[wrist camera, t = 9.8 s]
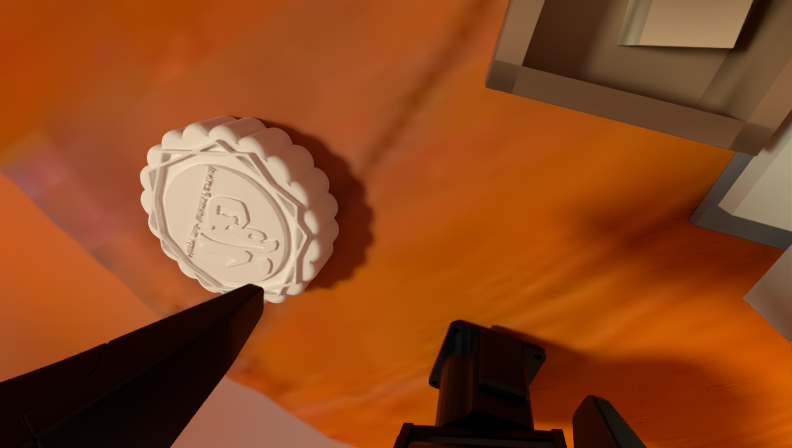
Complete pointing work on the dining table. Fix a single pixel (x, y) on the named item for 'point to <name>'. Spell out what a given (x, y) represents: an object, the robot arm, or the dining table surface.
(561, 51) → the tub
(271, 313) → the dining table surface
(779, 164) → the lid
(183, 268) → the mooncake
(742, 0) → the block
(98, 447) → the robot arm
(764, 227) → the mat
